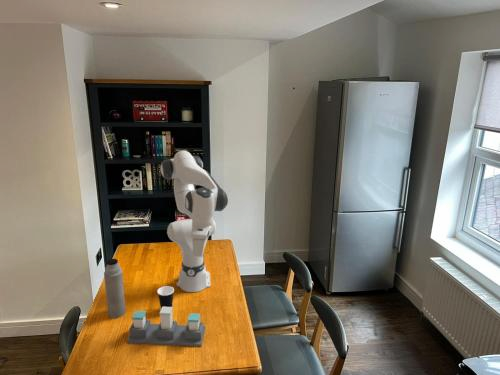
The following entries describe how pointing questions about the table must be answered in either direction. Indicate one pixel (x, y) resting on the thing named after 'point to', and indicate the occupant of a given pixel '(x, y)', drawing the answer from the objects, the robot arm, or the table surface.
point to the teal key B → (194, 322)
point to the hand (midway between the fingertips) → (201, 255)
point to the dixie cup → (165, 296)
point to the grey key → (166, 318)
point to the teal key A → (139, 319)
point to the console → (166, 335)
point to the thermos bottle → (114, 289)
